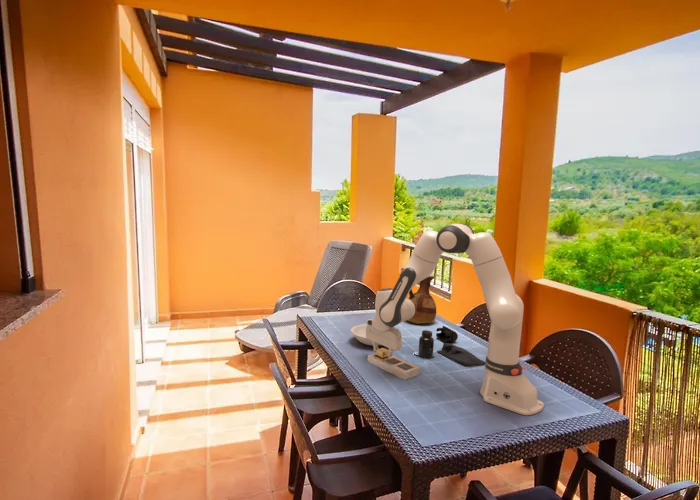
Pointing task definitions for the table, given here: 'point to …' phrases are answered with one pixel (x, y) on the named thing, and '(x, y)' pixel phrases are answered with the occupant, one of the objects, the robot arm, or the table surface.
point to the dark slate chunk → (460, 355)
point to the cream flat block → (395, 366)
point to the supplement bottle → (426, 345)
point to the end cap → (446, 335)
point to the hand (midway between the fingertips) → (382, 353)
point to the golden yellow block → (382, 353)
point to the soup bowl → (361, 334)
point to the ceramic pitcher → (423, 303)
